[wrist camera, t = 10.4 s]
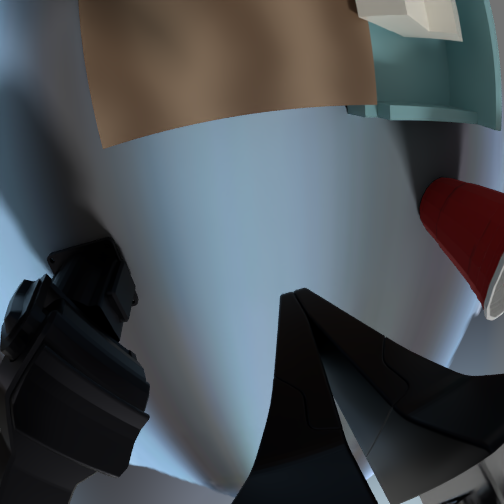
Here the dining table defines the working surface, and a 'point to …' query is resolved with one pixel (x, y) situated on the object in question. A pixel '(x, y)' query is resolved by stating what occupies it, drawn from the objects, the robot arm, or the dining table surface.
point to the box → (439, 73)
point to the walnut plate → (219, 60)
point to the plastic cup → (470, 235)
